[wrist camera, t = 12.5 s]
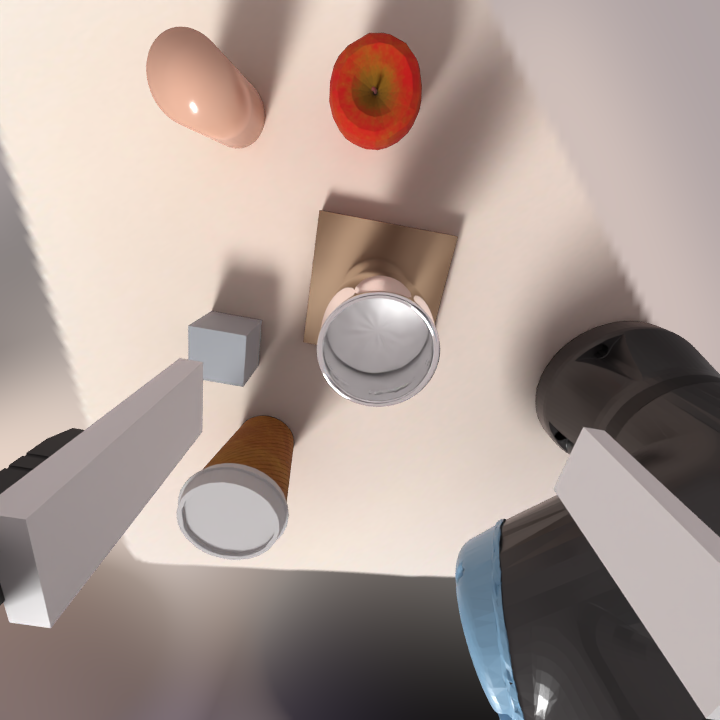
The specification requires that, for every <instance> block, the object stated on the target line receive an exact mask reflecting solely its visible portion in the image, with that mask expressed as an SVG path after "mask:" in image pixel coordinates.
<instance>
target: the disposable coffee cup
mask: <svg viewBox="0 0 720 720" xmlns="http://www.w3.org/2000/svg"><path fill="white" fill-rule="evenodd" d="M293 446H294V440H293V435H292V433H291V431H290V429H289V428H288V427H287V426H286V425H285V424H284V423H283V422H282V421H280V420H278V419H276V418H273V417H269V416H257V417H253V418H250V419H249V420H247V421H246V422H245V423H244V424H243V425H242V426H241V427H240V428H239V429H238V431H237V432H236V433H235V434H234V435H233V436H232V437H231V438H230V439H229V441H228V442H227V443H226V444H225V445H224V446H223V447H222V448H221V450H220V451H219V452H218V453H217V454H216V455H215V456H214V457H213V458H212V459H211V461H210V462H209V463H208V464H207V465H206V466H205V467H204V468H203V470H201V471H199V472H197V473H196V474H194V475H193V476H192V477H190V478H189V479H188V480H187V481H186V482H185V484H184V485H183V487H182V489H181V490H180V494H179V497H178V509H177V521H178V525H179V527H180V530H181V531H182V533H183V534H184V536H185V537H186V538H187V539H188V540H189V541H190V542H191V543H192V544H193V545H194V546H196V547H197V548H198V549H200V550H202V551H203V552H205V553H208V554H210V555H212V556H216V557H220V558H223V559H230V560H241V559H249V558H252V557H256V556H259V555H261V554H262V553H264V552H266V551H267V550H269V549H270V547H271V546H272V545H273V544H274V543H275V542H276V540H277V539H278V538H279V537H280V536H281V535H282V534H283V532H284V530H285V528H286V527H287V522H288V517H289V514H288V505H287V495H288V487H289V478H290V470H291V462H292V454H293Z"/></svg>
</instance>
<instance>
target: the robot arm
mask: <svg viewBox="0 0 720 720" xmlns="http://www.w3.org/2000/svg"><path fill="white" fill-rule="evenodd" d="M202 411H203V362H200V361H194V360H188V359H182V358H179V359H178V360H177V361H175V362H174V363H173V364H171V365H170V366H169V367H168V368H166V369H165V370H164V371H162V372H161V373H160V374H158V375H157V376H156V377H154V378H153V379H152V380H150V381H149V382H148V383H146V384H145V385H144V386H142V387H141V388H140V389H138V390H137V391H136V392H135V393H133V394H132V395H131V396H129V397H128V398H127V399H125V400H124V401H123V402H121V403H120V404H119V405H117V406H116V407H115V408H113V409H112V410H111V411H109V412H108V413H107V414H106V415H104V416H103V417H102V418H100V419H99V420H98V421H96V422H95V423H94V424H92V425H91V426H90V427H88V428H87V429H86V430H81V429H75V428H72V429H69V430H67V431H64V432H62V433H60V434H57V435H55V436H53V437H51V438H48V439H46V440H45V441H43V442H42V443H40V444H39V445H37V446H36V447H35V448H33V449H32V450H30V451H29V452H27V454H26V456H22V457H20V458H19V459H17V460H16V461H14V462H13V463H11V464H10V465H9V467H8V468H7V469H6V468H4V469H3V470H1V471H0V605H1V604H2V603H3V602H4V606H5V609H6V612H7V616H8V619H9V622H11V623H18V624H25V625H33V626H40V627H47V628H51V627H52V626H53V625H54V623H55V622H56V621H57V619H58V618H59V617H60V615H61V614H62V613H63V612H64V610H65V609H66V608H67V606H68V605H69V604H70V603H71V601H72V600H73V599H74V597H75V596H76V595H77V594H78V592H79V591H80V590H81V588H82V587H83V586H84V584H85V583H86V582H87V581H88V579H89V578H90V577H91V575H92V574H93V573H94V571H95V570H96V569H97V568H98V566H99V565H100V564H101V562H102V561H103V560H104V558H105V557H106V556H107V555H108V553H109V552H110V550H111V549H112V548H113V547H114V546H115V544H116V543H117V542H118V540H119V539H120V538H121V536H122V535H123V534H124V533H125V531H126V530H127V529H128V527H129V526H130V525H131V523H132V522H133V521H134V520H135V518H136V517H137V516H138V514H139V513H140V512H141V511H142V509H143V508H144V507H145V505H146V504H147V503H148V501H149V500H150V499H151V498H152V496H153V495H154V494H155V492H156V491H157V490H158V488H159V487H160V486H161V485H162V483H163V482H164V481H165V479H166V478H167V477H168V475H169V474H170V473H171V472H172V470H173V469H174V468H175V466H176V465H177V464H178V463H179V461H180V460H181V459H182V457H183V456H184V455H185V453H186V452H187V451H188V450H189V448H190V447H191V446H192V444H193V443H194V442H195V440H196V439H197V438H198V437H199V435H200V434H201V433H202ZM536 412H537V416H538V419H539V421H540V423H541V425H542V427H543V428H544V430H545V431H546V432H547V434H548V435H549V436H550V437H551V438H552V440H553V441H554V442H555V443H556V444H557V445H558V446H559V447H560V448H561V449H562V450H564V451H565V452H566V453H568V454H570V456H569V458H568V460H567V462H566V464H565V466H564V468H563V470H562V472H561V474H560V476H559V478H558V480H557V483H556V485H555V487H554V491H555V492H556V494H557V495H556V496H554V497H552V498H550V499H548V500H546V501H544V502H542V503H540V504H538V505H536V506H534V507H531V508H529V509H527V510H525V511H523V512H521V513H519V514H517V515H515V516H513V517H511V518H509V519H501V520H499V521H498V522H497V523H496V525H495V526H493V527H492V528H490V529H488V530H486V531H485V532H483V533H481V534H479V535H477V536H476V537H474V538H472V539H470V540H469V541H468V542H466V543H465V545H464V546H463V547H462V548H461V550H460V552H459V555H458V558H457V563H456V592H457V600H458V606H459V612H460V617H461V622H462V625H463V630H464V634H465V637H466V641H467V645H468V648H469V651H470V654H471V658H472V660H473V663H474V666H475V669H476V672H477V674H478V677H479V680H480V682H481V685H482V687H483V689H484V692H485V694H486V696H487V698H488V700H489V702H490V704H491V706H492V708H493V709H494V710H495V711H496V712H497V713H498V714H499V717H500V720H720V374H719V373H718V372H717V371H716V370H715V369H714V368H713V367H712V366H711V365H710V364H709V362H708V361H707V360H706V359H705V358H704V357H703V356H702V355H701V354H700V353H699V352H698V351H697V350H696V349H695V348H694V347H693V346H692V345H691V344H690V343H689V342H688V341H686V340H685V339H684V338H682V337H680V336H679V335H677V334H675V333H673V332H670V331H668V330H666V329H663V328H661V327H658V326H656V325H653V324H649V323H645V322H638V321H623V322H615V323H610V324H606V325H602V326H599V327H596V328H594V329H591V330H589V331H587V332H585V333H583V334H581V335H580V336H578V337H576V338H575V339H573V340H572V341H571V342H569V343H568V344H567V345H566V346H564V347H563V348H562V349H561V350H560V351H559V352H558V353H557V354H556V355H555V356H554V357H553V359H552V360H551V361H550V363H549V364H548V365H547V367H546V369H545V370H544V372H543V374H542V376H541V378H540V381H539V384H538V387H537V392H536Z"/></svg>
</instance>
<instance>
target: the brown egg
mask: <svg viewBox="0 0 720 720" xmlns="http://www.w3.org/2000/svg"><path fill="white" fill-rule="evenodd" d="M146 72H147V80H148V85H149V88H150V91H151V93H152V96H153V98H154V100H155V101H156V103H157V105H158V106H159V107H160V109H161V110H162V111H163V112H164V113H165V114H166V115H167V116H168V117H169V118H170V119H172V120H173V121H175V122H176V123H178V124H180V125H183V126H185V127H187V128H189V129H191V130H193V131H196V132H198V133H200V134H202V135H204V136H206V137H208V138H211V139H213V140H215V141H217V142H219V143H221V144H224V145H226V146H228V147H231V148H244V147H247V146H249V145H251V144H252V143H254V142H255V141H256V140H257V139H258V137H259V136H260V134H261V132H262V130H263V126H264V121H265V112H264V106H263V103H262V100H261V97H260V95H259V94H258V92H257V90H256V89H255V88H254V87H253V86H252V85H251V83H250V82H249V81H248V80H247V79H246V78H245V77H244V76H243V75H242V74H241V73H240V72H239V70H238V69H237V68H236V67H235V66H234V65H233V64H232V63H231V62H230V61H229V60H228V59H227V57H226V56H225V55H224V54H223V53H222V52H221V51H220V50H219V49H218V48H217V47H216V46H215V44H214V43H213V42H212V41H211V40H210V39H209V38H207V37H206V36H205V35H204V34H202V33H200V32H199V31H197V30H194V29H191V28H188V27H174V28H170V29H168V30H166V31H164V32H163V33H161V34H160V35H159V36H158V37H157V38H156V39H155V41H154V42H153V44H152V46H151V48H150V50H149V53H148V57H147V65H146Z"/></svg>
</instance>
